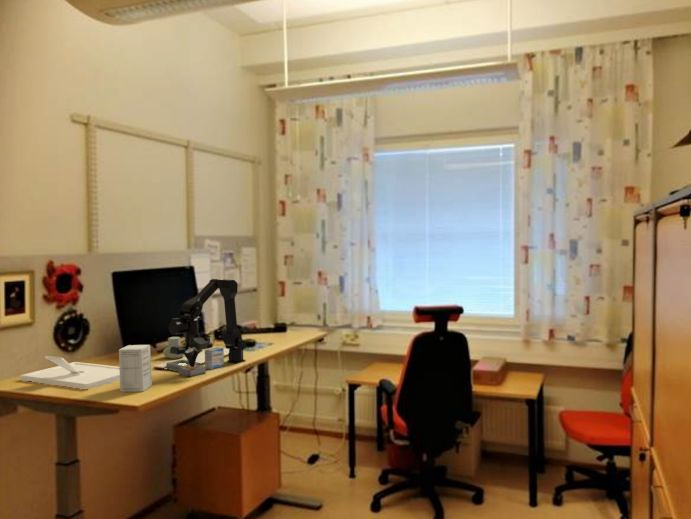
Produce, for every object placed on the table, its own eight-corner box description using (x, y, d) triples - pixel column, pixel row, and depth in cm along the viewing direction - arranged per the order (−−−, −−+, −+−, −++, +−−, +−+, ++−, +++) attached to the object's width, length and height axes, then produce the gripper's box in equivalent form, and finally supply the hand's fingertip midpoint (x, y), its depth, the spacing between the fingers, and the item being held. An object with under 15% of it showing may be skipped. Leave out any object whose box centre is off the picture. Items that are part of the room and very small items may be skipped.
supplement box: (152, 385, 232) (151, 344, 231) (143, 391, 223) (142, 349, 222) (129, 385, 232) (128, 344, 232) (119, 392, 223) (118, 349, 222)
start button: (193, 369, 253) (193, 365, 253) (198, 370, 251) (198, 366, 251) (186, 371, 250) (186, 366, 250) (191, 372, 248) (191, 368, 248)
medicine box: (212, 369, 258) (211, 350, 258) (204, 368, 261) (204, 349, 260) (224, 366, 265) (223, 347, 265) (217, 365, 267) (216, 346, 267)
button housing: (194, 371, 256) (193, 364, 256) (205, 373, 251) (205, 366, 251) (179, 374, 250) (178, 367, 250) (190, 377, 245) (190, 370, 245)
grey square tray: (184, 363, 271) (184, 358, 271) (203, 367, 263) (203, 362, 263) (163, 368, 262) (162, 363, 262) (182, 372, 253) (181, 367, 253)
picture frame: (87, 391, 227) (139, 375, 251) (86, 360, 226) (138, 347, 251) (20, 382, 244) (75, 368, 268) (19, 353, 243) (74, 341, 268)
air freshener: (161, 359, 281) (160, 339, 281) (166, 356, 290) (165, 336, 289) (183, 359, 282) (183, 339, 281) (187, 355, 290) (187, 336, 290)
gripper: (185, 336, 237) (186, 373, 238) (220, 329, 252) (221, 365, 253) (168, 333, 244) (169, 370, 245) (204, 327, 259) (204, 361, 260)
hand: (192, 366), depth 250 cm, fingers closed, pressing on start button
